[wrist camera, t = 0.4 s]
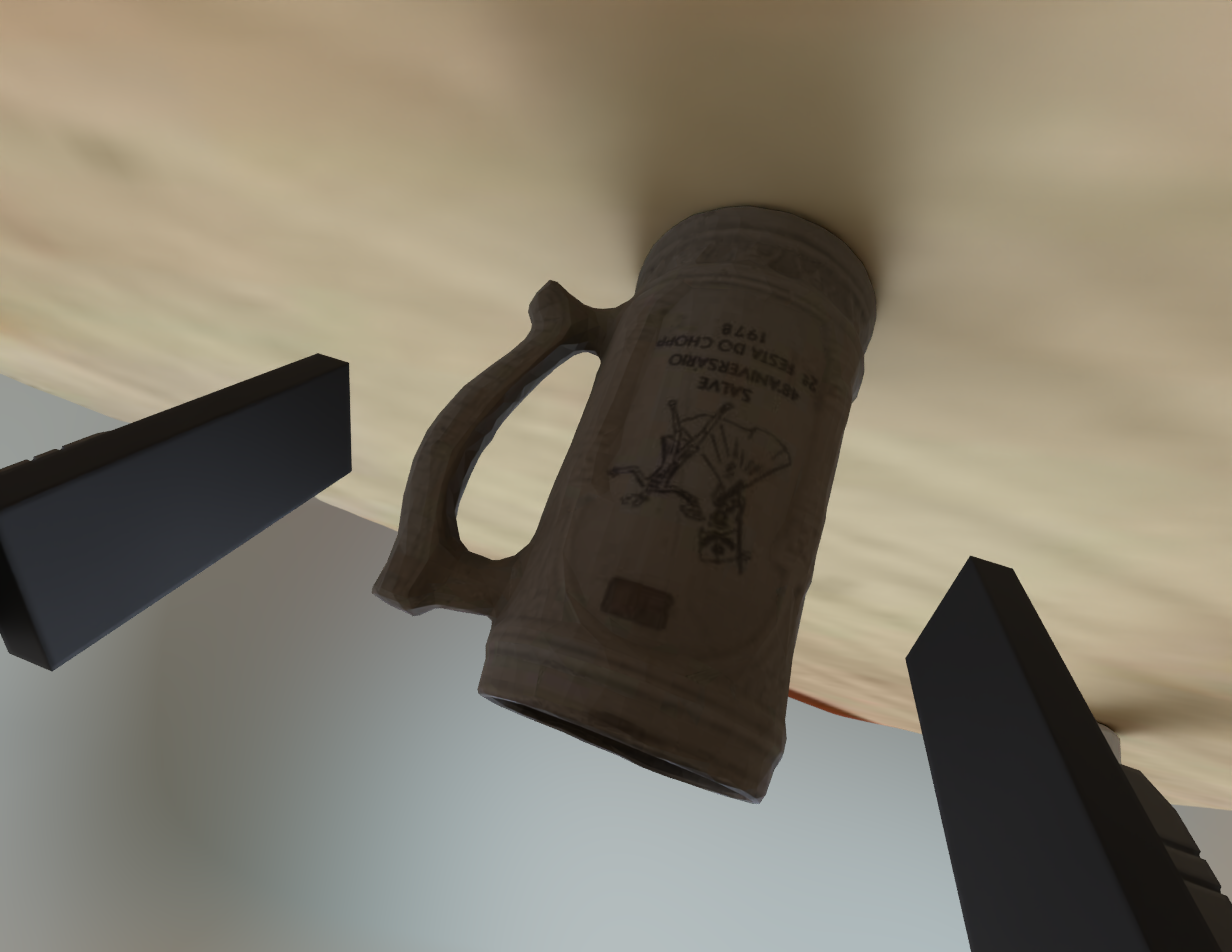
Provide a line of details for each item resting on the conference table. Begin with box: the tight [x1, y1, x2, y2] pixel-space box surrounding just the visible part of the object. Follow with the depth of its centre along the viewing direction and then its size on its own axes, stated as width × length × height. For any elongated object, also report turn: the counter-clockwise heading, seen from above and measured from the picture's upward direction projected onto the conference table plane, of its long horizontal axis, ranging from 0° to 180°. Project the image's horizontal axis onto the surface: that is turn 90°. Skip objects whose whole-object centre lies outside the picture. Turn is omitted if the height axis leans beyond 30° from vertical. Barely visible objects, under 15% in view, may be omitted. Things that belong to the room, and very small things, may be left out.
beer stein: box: [372, 206, 876, 804], centre depth 23 cm, size 15×11×20 cm
